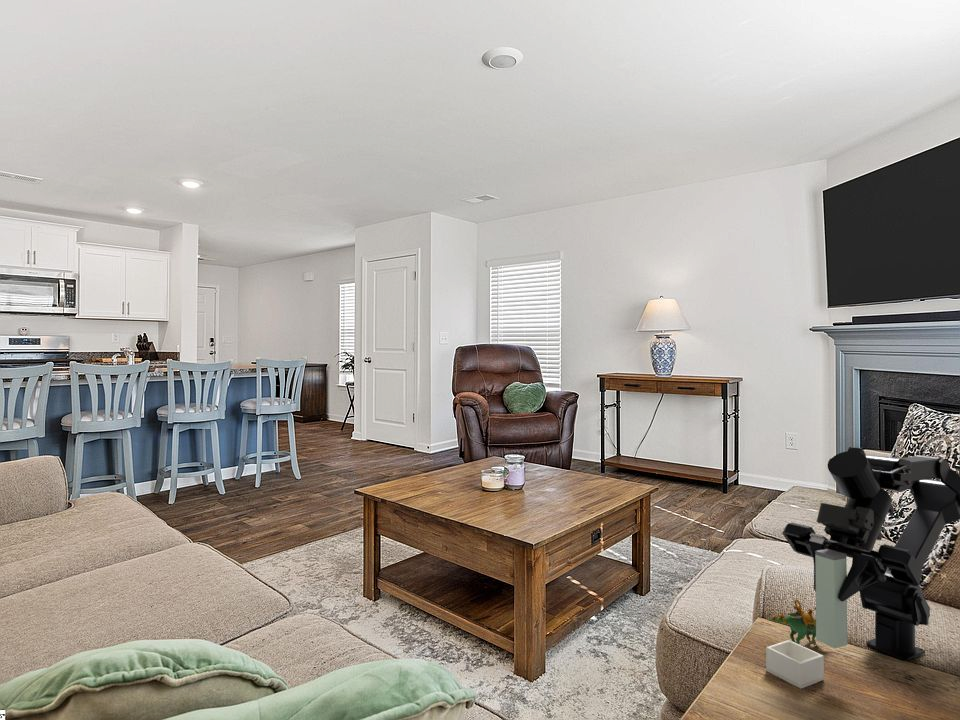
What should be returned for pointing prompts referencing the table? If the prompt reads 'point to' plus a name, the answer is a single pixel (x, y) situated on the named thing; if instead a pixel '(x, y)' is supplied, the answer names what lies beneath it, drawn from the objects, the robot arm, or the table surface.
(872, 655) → the table surface
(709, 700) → the table surface
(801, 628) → the figurine
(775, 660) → the ceramic well
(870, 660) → the table surface
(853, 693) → the table surface
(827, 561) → the sage bracket post
